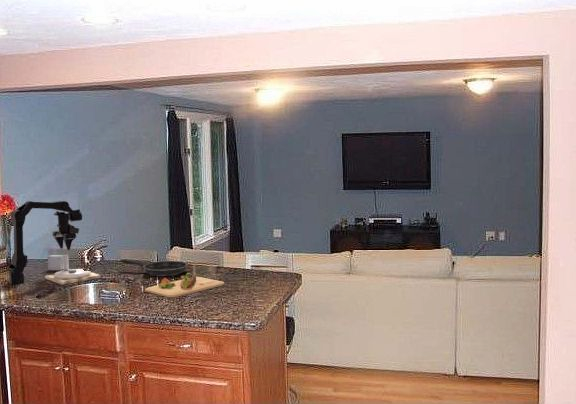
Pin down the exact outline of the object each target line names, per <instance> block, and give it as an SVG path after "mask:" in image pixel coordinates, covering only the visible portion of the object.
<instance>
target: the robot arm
mask: <svg viewBox="0 0 576 404" xmlns="http://www.w3.org/2000/svg"><path fill="white" fill-rule="evenodd" d="M32 209H45V210H47V209H48V210H53V211H54V210H55V213H54V214H53V216H57V224H56V226H57V227H58V230H55V231H52V237H53V238H54V239H55V242H57V244H58V246H59V248H60V249H63V248H64V245H65V247H66V250H67V251H70V250H71V246H72V242H73V241H74V240H75V239H76V238H77V235H78V234H79V231H80V228H78V227H75V225H71V224H70V222H71V223H73V222H80V221H82V220H83V214H82V212H81V209H79V208H78V209H72V207H70V204H69V202H68V201H66V200H57V201H56V200H54V201H50V202H49V201H48V202H47V201H30V200H28V201H26V202H24V204H22V205H20V206H19V207H17V208H16V209H13V210H12V211H11V212H10V220H11V223H12V226H13V254H12V256H11V262H10V265H8V267H7V271H8V279H9V281H8V284H11V285H18V284H23V283H24V284H25V274H24V270H25V268H26V267H27V264H28V263H29V261H28V255H27V254H25V253H24V230H23V229H24V225H25V222H26V216H27V215H29V213H30V212H31V210H32ZM69 221H70V222H69Z"/></svg>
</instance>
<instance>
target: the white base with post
mask: <svg viewBox="0 0 576 404" xmlns="http://www.w3.org/2000/svg"><path fill="white" fill-rule="evenodd" d="M62 255H63V266H64V269H63V270H58V271H56V272H55V273H54V275H55V278H59V279H72V278H80V277H85V276H88V275H90V274H91V272H92V271H91V270H90V271H84V270H83V269H84V268H73V269H71V268H70V266H69V265H70V264H69V255H68V254H62Z"/></svg>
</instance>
